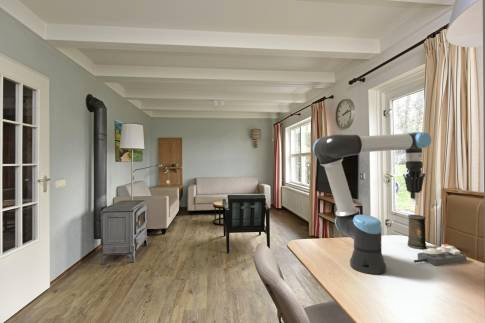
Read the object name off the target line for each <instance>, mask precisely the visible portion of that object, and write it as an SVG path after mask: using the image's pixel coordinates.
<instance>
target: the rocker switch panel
mask: <svg viewBox="0 0 485 323" xmlns="http://www.w3.org/2000/svg"><path fill="white" fill-rule="evenodd" d="M413 262H414V263H423V262H424V263H425V264H429V265H432V266H435V267H438V266H444V265H446V266H447V265H452V264H459V263H460V264H461V263H465V262H466V263H467V255H466V254H462V253H460V254H457V255H454V254H452V253H446V254H437V255H429V254H428V253H424V252H417V259H414V260H413Z"/></svg>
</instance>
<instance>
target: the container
mask: <svg viewBox="0 0 485 323" xmlns="http://www.w3.org/2000/svg"><path fill="white" fill-rule="evenodd" d="M407 217H408V241H407V246H408V247H409V248H411V249H417V250H424V249H428V248H427V243H426V224H425V223H426V222H425V221H426V216H424V215H420V214H408V215H407Z"/></svg>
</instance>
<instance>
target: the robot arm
mask: <svg viewBox="0 0 485 323" xmlns="http://www.w3.org/2000/svg"><path fill="white" fill-rule="evenodd" d="M431 144H432V136H431V134H429V133H428V132H425V131H423V132H421V131H410V132H406V133H398V134H397V133H396V134H395V133H394V134H393V133H392V134H381V135H380V134H379V135H364V136H360V135H359V134H341V133H339V134H336V133H335V134H330V135H327V136H322V137H320V138H318V139H317V140H315V141H314V144H313V146H312V152H313V154H314V156H315V157H316V158H317V159H318V161H319V164H320V166H322V167H324V171H325V173H326V176H327V180H328V183H329V187H330V189H331V194H332V197H333V200H334V204H335V206H336V211H335V213H334V214H335V219H334V224H335V227H336V229H337V231H338V232H339V233H341V234H342V235H344V236H346V237H349V238H351V239H352V240H353V251H352V252H351V257H350V259H349V266H350V268H352V269H353V270H355V271H357V272H361V273H364V274H369V275H383V274H385V273H386V272H387V266H386V263H385V260H384V256H383V253H382V230H383V228H382V222H381V221H380V219H379V218H377V217H375V216H372V215H368V214H361V212H360V210H359V207H356V206H355V204H354V201H353V197H352V194H351V190H350V189H349V185H348V181H347V177H346V175H345V171H344V167H343V164H342V162H343V160H344V157H345V158H346V157H349V156H350V157H351V156H359V155H360V154H361V153H373V152H387V151H405V169H406V172H405V173H403V174H402V176H403V178H404V182H405V186H406V187H405V188H406V191H407V192H408V193H410V195H409V196H410V200H411V201H410V204H411V205H413V206H418V205H419V194H420V193H421V192H422V190H423V185H424V179H425V177H426V173H423V172H422V169H423V168H424V167H423V165H424V164H423V149H424V148H427V147H429V146H430V145H431Z"/></svg>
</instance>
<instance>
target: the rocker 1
mask: <svg viewBox="0 0 485 323" xmlns="http://www.w3.org/2000/svg"><path fill="white" fill-rule="evenodd" d="M436 248H437V247H430V248H426V249H422V251H423V252H424V253H428V254H429V255H437V254H441V253H442V250H437V249H436ZM423 252H422V253H423Z"/></svg>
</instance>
